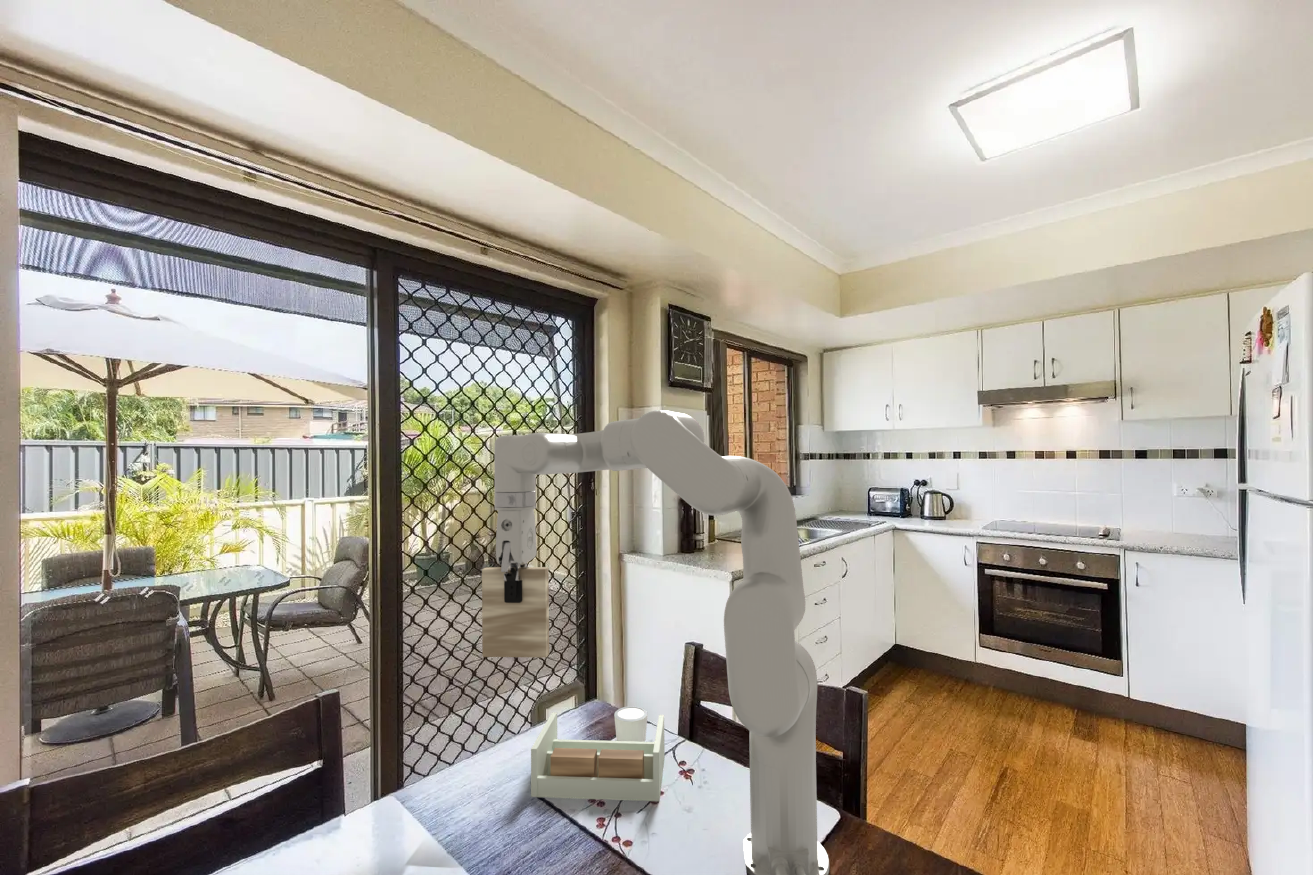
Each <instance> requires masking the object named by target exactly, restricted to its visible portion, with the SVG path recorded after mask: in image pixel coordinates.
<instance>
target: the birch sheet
mask: <svg viewBox="0 0 1313 875" xmlns="http://www.w3.org/2000/svg"><path fill="white" fill-rule="evenodd" d="M512 568H514V569H515V571H516V567H512ZM520 580H522V602H521V603H505V601H504V573H502V572H501V567H500V566H497V567H496V566H492V567H491V566H490V567H489V566H488V567H484V568H482V569H481V610H482V613H481V614H482V615H481V616H482V617H481V619H482V620H481V623H482V626H481V627H482V630H481V632H482V635H481V637H482V638H481V640H482V642H481V643H482V644H481V645H482V649H481V650H482V654H481V655H482V656H481V657H482V658H545V659H546V658H547V657H548V656H549V655H550V613H549V612H550V609H549V608H550V603H549V602H550V601H549V600H550V599H549V598H550V597H549V594H550V592H549V590H550V589H549V584H550V583H549V582H550V581H549V566H543V567H542V566H540V567H539V566H538V567H537V566H532V567H531V566H527V567H520Z"/></svg>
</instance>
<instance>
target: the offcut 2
mask: <svg viewBox="0 0 1313 875" xmlns="http://www.w3.org/2000/svg"><path fill="white" fill-rule="evenodd" d="M598 770H599V778H629V779H644V750H614V749H601V752H600V755H599V758H598Z"/></svg>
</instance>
